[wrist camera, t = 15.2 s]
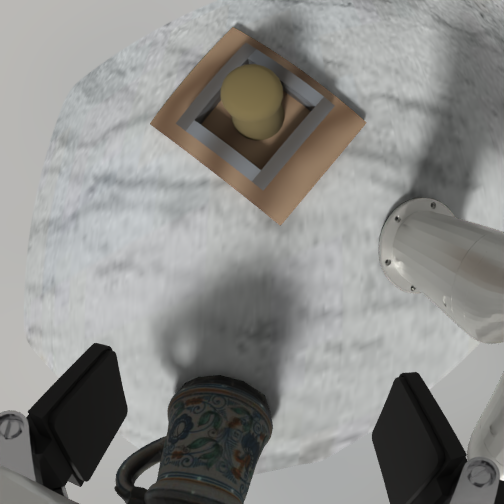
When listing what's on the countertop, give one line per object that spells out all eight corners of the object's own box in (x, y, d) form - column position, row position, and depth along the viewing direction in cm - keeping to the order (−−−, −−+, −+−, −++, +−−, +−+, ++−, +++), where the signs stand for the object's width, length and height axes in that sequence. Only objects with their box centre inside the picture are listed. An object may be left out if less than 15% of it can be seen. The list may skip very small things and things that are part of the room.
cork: (226, 97, 31) (205, 63, 20) (278, 86, 30) (279, 48, 20) (236, 145, 32) (219, 130, 22) (289, 135, 32) (296, 115, 21)
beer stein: (291, 423, 43) (294, 557, 19) (202, 453, 47) (172, 561, 23) (232, 356, 41) (194, 511, 16) (142, 398, 44) (79, 509, 20)
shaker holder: (363, 124, 32) (374, 117, 28) (280, 223, 36) (280, 230, 31) (234, 32, 30) (229, 15, 26) (154, 125, 34) (139, 119, 29)
